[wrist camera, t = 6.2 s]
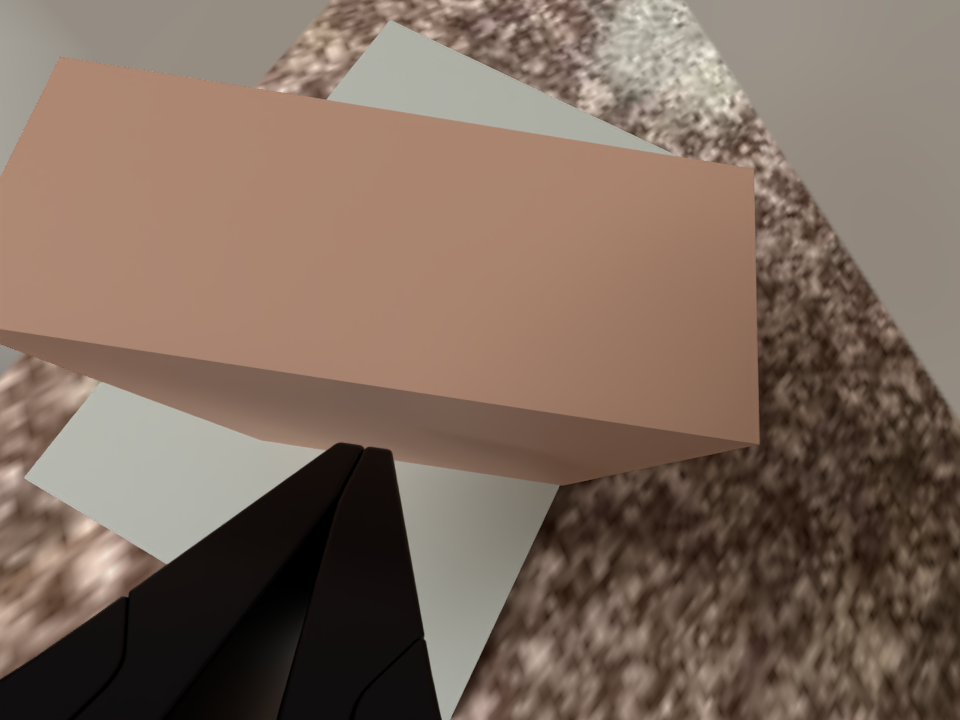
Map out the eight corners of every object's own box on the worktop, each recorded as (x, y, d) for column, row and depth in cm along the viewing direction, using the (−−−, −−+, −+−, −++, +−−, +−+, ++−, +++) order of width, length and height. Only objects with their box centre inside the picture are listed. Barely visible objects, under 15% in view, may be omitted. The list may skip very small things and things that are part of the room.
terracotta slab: (562, 485, 17) (760, 444, 6) (261, 440, 16) (-70, 318, 6) (573, 370, 18) (753, 169, 7) (291, 327, 18) (59, 57, 7)
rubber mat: (701, 177, 21) (707, 170, 21) (444, 724, 15) (444, 731, 14) (391, 30, 22) (390, 20, 22) (36, 479, 16) (24, 477, 16)
